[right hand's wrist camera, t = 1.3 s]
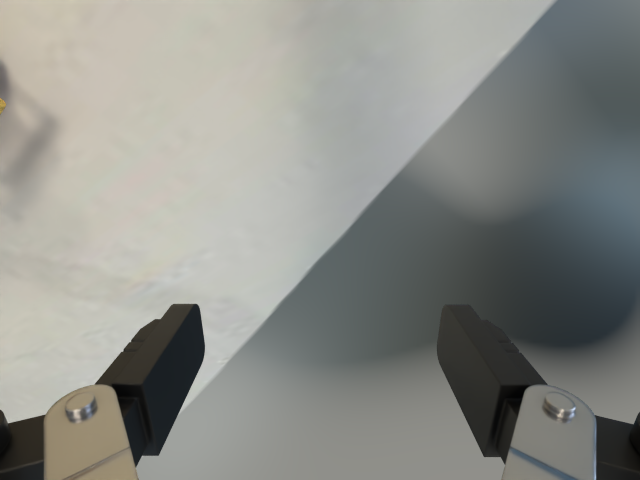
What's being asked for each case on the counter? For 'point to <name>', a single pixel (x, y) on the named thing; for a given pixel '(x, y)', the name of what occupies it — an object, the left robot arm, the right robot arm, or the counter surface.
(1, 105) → the drawer
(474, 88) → the counter surface
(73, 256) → the counter surface
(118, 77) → the counter surface
